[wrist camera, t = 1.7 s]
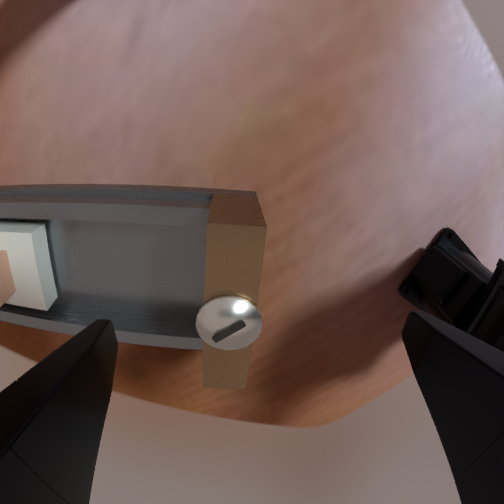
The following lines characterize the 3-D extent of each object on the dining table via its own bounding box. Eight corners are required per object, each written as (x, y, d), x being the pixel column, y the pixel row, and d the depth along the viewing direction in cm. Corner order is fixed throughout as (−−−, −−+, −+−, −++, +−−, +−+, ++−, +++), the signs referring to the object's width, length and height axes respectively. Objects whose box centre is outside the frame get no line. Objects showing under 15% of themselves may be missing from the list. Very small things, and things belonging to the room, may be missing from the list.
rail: (261, 192, 19) (276, 232, 13) (246, 326, 23) (252, 395, 17) (-49, 188, 17) (-101, 216, 10) (-26, 292, 21) (-65, 334, 15)
